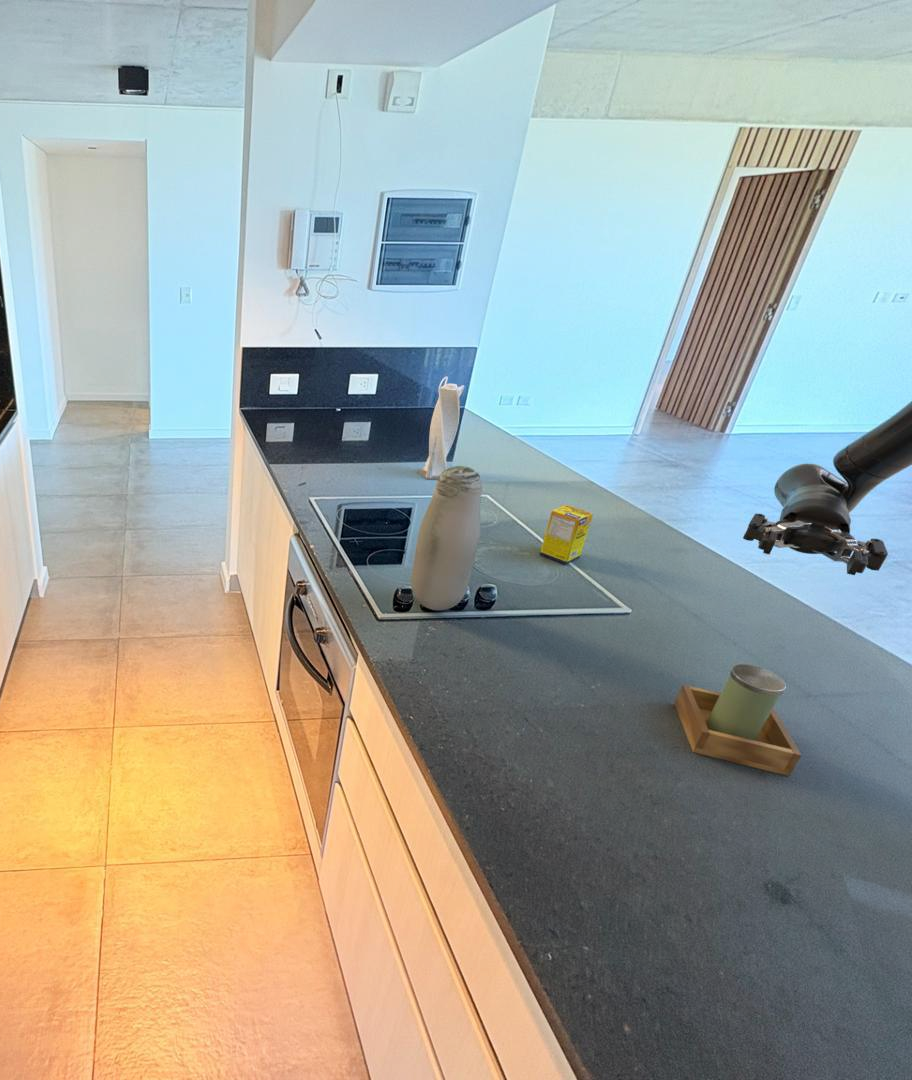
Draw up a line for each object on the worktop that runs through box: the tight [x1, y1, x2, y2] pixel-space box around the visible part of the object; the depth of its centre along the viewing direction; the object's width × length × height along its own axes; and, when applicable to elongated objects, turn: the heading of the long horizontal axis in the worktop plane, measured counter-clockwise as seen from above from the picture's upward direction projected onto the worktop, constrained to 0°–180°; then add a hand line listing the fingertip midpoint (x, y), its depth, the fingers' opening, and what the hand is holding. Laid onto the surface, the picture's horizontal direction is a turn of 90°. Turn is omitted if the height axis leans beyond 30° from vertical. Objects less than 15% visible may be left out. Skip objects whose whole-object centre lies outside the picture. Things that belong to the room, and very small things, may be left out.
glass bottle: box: [410, 465, 483, 611], centre depth 112 cm, size 10×10×28 cm
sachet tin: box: [706, 663, 787, 741], centre depth 85 cm, size 6×6×10 cm
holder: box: [673, 684, 802, 777], centre depth 87 cm, size 11×11×4 cm
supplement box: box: [539, 504, 594, 566], centre depth 134 cm, size 6×6×11 cm
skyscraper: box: [416, 375, 466, 481], centre depth 176 cm, size 8×8×28 cm
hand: (810, 557), depth 83 cm, fingers open, 8 cm apart
